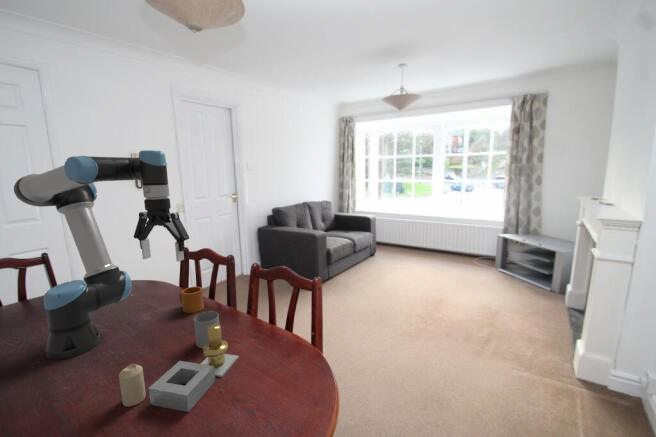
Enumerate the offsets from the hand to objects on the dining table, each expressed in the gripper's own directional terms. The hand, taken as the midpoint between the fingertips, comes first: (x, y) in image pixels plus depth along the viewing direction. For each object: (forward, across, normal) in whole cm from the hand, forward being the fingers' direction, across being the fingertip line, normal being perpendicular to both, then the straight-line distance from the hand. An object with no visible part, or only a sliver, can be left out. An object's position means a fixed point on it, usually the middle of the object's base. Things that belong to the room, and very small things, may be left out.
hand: (163, 259), depth 104 cm
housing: (+33, +20, -19) cm, 43 cm away
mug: (+33, -14, +28) cm, 46 cm away
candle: (+33, +8, -24) cm, 42 cm away
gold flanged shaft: (+32, +22, -6) cm, 40 cm away
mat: (+33, +22, -6) cm, 40 cm away
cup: (+33, +11, +5) cm, 35 cm away
